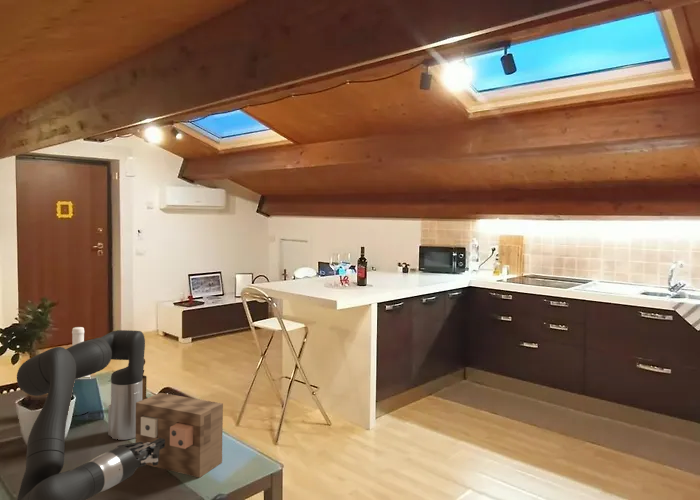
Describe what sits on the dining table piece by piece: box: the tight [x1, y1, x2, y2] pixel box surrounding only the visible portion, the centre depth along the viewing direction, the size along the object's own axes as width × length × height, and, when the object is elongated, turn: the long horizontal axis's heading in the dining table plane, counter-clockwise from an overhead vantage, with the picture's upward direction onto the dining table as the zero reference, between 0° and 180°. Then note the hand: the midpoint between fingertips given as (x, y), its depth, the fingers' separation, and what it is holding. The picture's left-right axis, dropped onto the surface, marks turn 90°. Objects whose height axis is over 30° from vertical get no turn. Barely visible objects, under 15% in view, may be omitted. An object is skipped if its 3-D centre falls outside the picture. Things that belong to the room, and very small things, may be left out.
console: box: [135, 392, 224, 479], centre depth 151 cm, size 22×10×17 cm, turn 68°
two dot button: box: [170, 423, 194, 449], centre depth 143 cm, size 5×5×5 cm
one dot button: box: [141, 416, 158, 438], centre depth 150 cm, size 5×5×5 cm
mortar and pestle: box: [142, 358, 148, 400], centre depth 196 cm, size 7×6×18 cm
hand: (162, 442), depth 138 cm, fingers closed
